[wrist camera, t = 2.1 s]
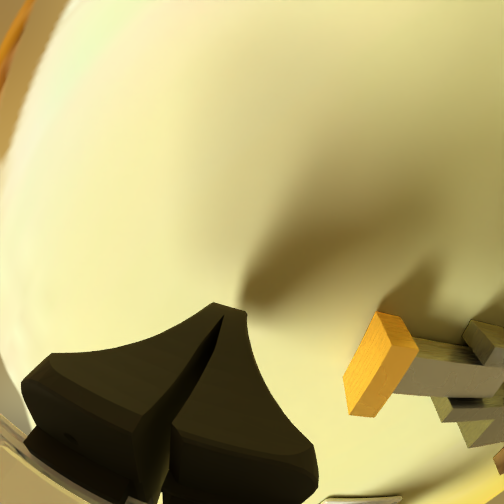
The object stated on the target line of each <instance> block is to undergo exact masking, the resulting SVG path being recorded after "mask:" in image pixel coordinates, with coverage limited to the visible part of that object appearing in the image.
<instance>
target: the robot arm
mask: <svg viewBox="0 0 504 504" xmlns="http://www.w3.org/2000/svg"><path fill="white" fill-rule="evenodd" d="M21 392H22V395H23V398H24V401H25V403H26V405H27V407H28V409H29V411H30V413H31V415H32V418H33V419H34V421H35V423H36V425H37V426H36V427H35V428H34V429H33V430H32V432H31V433H30V434H29V435H28V436H27V435H25V434H24V433H23V432H22V431H21V430H19V429H18V428H17V427H16V426H15V425H13V424H12V423H11V422H10V421H9V420H7V419H6V418H5V417H4V416H3V415H2V414H1V413H0V504H157V502H158V499H159V496H160V493H161V492H163V504H302V503H303V502H304V501H305V500H306V499H308V498H309V497H310V496H311V495H312V494H313V493H314V492H315V491H316V489H317V488H318V481H319V473H318V465H317V459H316V454H315V450H314V446H313V444H312V443H311V442H310V441H309V440H308V439H307V438H306V437H305V436H304V435H303V434H302V433H301V432H300V431H299V430H298V429H297V428H296V427H295V426H294V425H293V424H292V423H291V421H290V420H289V419H288V418H287V416H286V415H285V414H284V413H283V411H282V410H281V408H280V407H279V405H278V404H277V402H276V401H275V399H274V398H273V396H272V395H271V393H270V391H269V389H268V387H267V386H266V384H265V382H264V380H263V378H262V376H261V373H260V371H259V369H258V366H257V364H256V361H255V358H254V355H253V352H252V348H251V344H250V340H249V335H248V329H247V313H246V312H245V311H242V310H239V309H235V308H232V307H228V306H225V305H221V304H218V303H214V302H213V303H211V304H209V305H208V306H206V307H205V308H204V309H202V310H201V311H199V312H198V313H196V314H195V315H193V316H191V317H190V318H188V319H187V320H185V321H183V322H182V323H180V324H178V325H176V326H174V327H172V328H170V329H168V330H166V331H164V332H162V333H160V334H158V335H156V336H153V337H151V338H148V339H145V340H142V341H139V342H136V343H132V344H128V345H124V346H121V347H117V348H112V349H106V350H100V351H92V352H81V353H51V354H50V355H49V356H48V357H46V358H45V359H44V360H43V361H42V362H41V363H40V364H39V365H38V366H37V367H36V368H35V369H34V370H32V371H31V372H30V373H29V374H28V375H27V376H26V377H25V378H24V379H23V381H22V382H21ZM35 468H36V469H35ZM39 471H40V472H39ZM43 474H44V475H43ZM46 476H47V477H46ZM49 478H50V479H51V480H50V479H49ZM53 481H54V482H53ZM56 483H57V484H56ZM59 485H60V486H59ZM61 486H62V487H61ZM64 488H65V489H64ZM67 490H68V491H67ZM69 491H70V492H69ZM72 493H73V494H72ZM74 494H75V495H74ZM77 496H78V497H77ZM79 497H80V498H79ZM82 499H83V500H82ZM84 500H85V501H84ZM401 500H402V496H393V497H380V498H329V499H326V500H324V501H323V502H322V503H320V504H397V503H398V502H400V501H401ZM86 501H87V502H86Z"/></svg>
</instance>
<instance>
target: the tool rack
mask: <svg viewBox="0 0 504 504" xmlns="http://www.w3.org/2000/svg"><path fill="white" fill-rule="evenodd" d="M493 460H494V462H495V464H496V467H497V469H498V472H499V474H500V475H501V474H504V448H503V449H502V450H501V451H500V452H499V453H498V454H497V455H496V456H494V457H493Z"/></svg>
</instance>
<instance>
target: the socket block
mask: <svg viewBox="0 0 504 504" xmlns="http://www.w3.org/2000/svg"><path fill="white" fill-rule="evenodd" d="M462 338H463V339H464V340H465V342H466V343H467V344H468V345H469V347H470V348H471V349H472V351H473V352H474V353H475V355H476V356H477V358H478V359H479V360H480V362H481V363H482V364H483V366H488V367H499V368H504V327H501V326H496V325H492V324H488V323H484V322H480V321H476V320H472V319H471V320H470V322H469V324H468V326H467V328H466V330H465V332H464V333H463V335H462ZM430 397H431V399H432V401H433V404H434V406H435V408H436V411H437V413H438V415H439V418H440V420H441V422H457V424H458V426H459V428H460V430H461V433H462V435H463V437H464V440H465V442H466V445H467V447H468V448H473V447H479V446H484V445H489V444H494V443H499V442H503V441H504V382H503V383H502V385H501V386H500V387H499V389H498V390H497V392H496V393H495V394H494V396H493V397H492V398H455V397H432V396H430Z"/></svg>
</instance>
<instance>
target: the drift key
mask: <svg viewBox="0 0 504 504" xmlns="http://www.w3.org/2000/svg"><path fill="white" fill-rule="evenodd" d="M343 382H344V388H345V394H346V400H347V407H348V413H349V415H354V416H363V417H373V418H374V417H375V416H376V415H377V413H378V412H379V411H380V409H381V408H382V407H383V405H384V404H385V403H386V401H387V400H388V398H389V397H390V396H391V394H392V393H396V394H406V395H418V396H432V397H455V398H492V397H493V396H494V394H495V393H496V392H497V390H498V389H499V387H500V386H501V385H502V383H503V382H504V368H499V367H488V366H483V364H482V363H481V362H480V360H479V359H478V358H477V356H476V355H475V353H474V352H473V351H472V349H471V348H470V347H465V346H459V345H454V344H448V343H442V342H437V341H432V340H426V339H421V338H416V337H412V336H411V334H410V333H409V331H408V329H407V328H406V326H405V324H404V322H403V321H402V319H401V317H399V316H395V315H390V314H386V313H382V312H378V311H376V312H375V314H374V316H373V318H372V321H371V323H370V325H369V327H368V329H367V331H366V333H365V335H364V337H363V339H362V341H361V343H360V345H359V347H358V349H357V351H356V353H355V355H354V357H353V359H352V361H351V363H350V365H349V366H348V368H347V370H346V372H345V374H344V376H343Z"/></svg>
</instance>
